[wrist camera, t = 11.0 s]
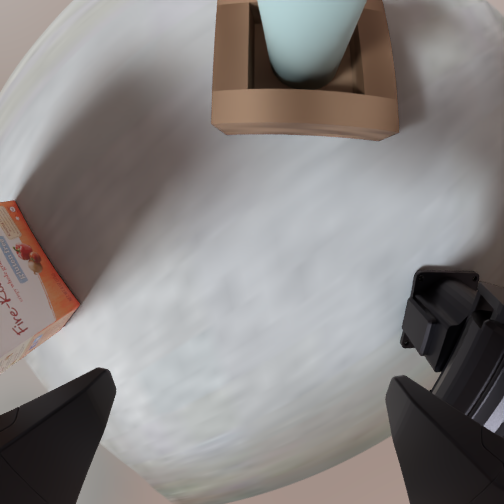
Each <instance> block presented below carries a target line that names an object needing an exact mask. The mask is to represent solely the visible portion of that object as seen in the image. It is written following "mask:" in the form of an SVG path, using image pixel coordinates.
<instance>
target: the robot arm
mask: <svg viewBox="0 0 504 504" xmlns="http://www.w3.org/2000/svg"><path fill="white" fill-rule="evenodd" d="M421 275H422V279H421V280H419V277H420V276H421ZM474 276H475V277H474ZM473 277H474V279H473ZM478 281H479V275H478V273H476V272H474V271H425V270H420V271H417V272H416V273H415V275H414V279H413V285H412V291H411V296H410V298H409V299H408V301H407V306H406V311H405V316H404V320H403V325H402V329H403V332H402V336H401V340H400V344H401V345H402V347H403V348H416V350H417V351H418V353H419V354H420V355H421V356H425V357H426V359H427V360H428V362H429V363H430V365H431V366H432V368H433V370H434V371H435V372H441V374H440V376H439V378H438V380H437V381H436V383H435V385H434V387H433V388H432V390H430V391H428V390H427V389H425V388H424V387H422V386H420V385H419V384H417V383H416V382H414V381H413V380H411V379H410V378H408V377H407V376H405V375H401V376H395V377H393V378H392V379H391V382H390V385H389V388H388V391H387V393H386V399H385V400H386V406H387V411H388V417H389V422H390V428H391V433H392V438H393V443H394V446H395V450H396V453H397V456H398V460H399V463H400V467H401V471H402V474H403V478H404V482H405V485H406V489H407V493H408V497H409V501H410V504H504V287H501V286H497V285H493V284H489V283H485V282H481V281H479V284H478ZM477 286H478V287H477ZM476 290H477V292H476ZM407 340H408V342H407V343H405V342H406V341H407ZM115 395H116V386H115V384H114V381H113V378H112V375H111V373H110V371H109V370H108V369H105V368H96V369H94V370H92V371H90V372H88V373H86V374H84V375H82V376H80V377H78V378H76V379H74V380H72V381H70V382H68V383H66V384H64V385H62V386H60V387H58V388H56V389H54V390H52V391H50V392H48V393H46V394H44V395H42V396H40V397H38V398H36V399H34V400H32V401H30V402H28V403H26V404H23V405H21V406H20V407H17V408H15V409H13V410H11V411H9V412H6V413H4V414H2V415H0V504H76V502H77V499H78V496H79V493H80V491H81V488H82V485H83V482H84V480H85V477H86V475H87V472H88V469H89V467H90V465H91V462H92V460H93V457H94V454H95V452H96V449H97V447H98V445H99V442H100V440H101V438H102V435H103V433H104V430H105V427H106V424H107V421H108V418H109V414H110V411H111V408H112V405H113V401H114V398H115Z"/></svg>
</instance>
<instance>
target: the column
mask: <svg viewBox="0 0 504 504" xmlns="http://www.w3.org/2000/svg"><path fill="white" fill-rule="evenodd" d="M257 1H258V6H259V11H260V15H261V20H262V25H263V30H264V34H265V39H266V45H267V50H268V55H269V60H270V65H271V69H272V71H273V73H274V75H275V76H276V77H277V78H278V79H279V80H280V81H281V82H282V83H284V84H285V85H287V86H289V87H291V88H294V89H304V90H315V89H319V88H321V87H323V86H325V85H327V84H328V83H329V82H330V81H331V80H332V79H333V78H334V76H335V74H336V72H337V69H338V67H339V65H340V62H341V60H342V58H343V55H344V53H345V51H346V48H347V46H348V44H349V41H350V39H351V37H352V34H353V32H354V30H355V27H356V25H357V22H358V20H359V18H360V15H361V13H362V11H363V8H364V6H365V4H366V1H367V0H257Z"/></svg>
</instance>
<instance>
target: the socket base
mask: <svg viewBox="0 0 504 504" xmlns="http://www.w3.org/2000/svg"><path fill="white" fill-rule="evenodd" d="M211 124H212V125H213V126H215V127H216V128H218V129H219V130H220V131H222V132H223V133H224V134H226V135H237V134H287V135H313V136H330V137H343V138H354V139H364V140H373V141H380V140H383V139H385V138H387V137H390V136H392V135H394V134H397V133H399V117H398V101H397V89H396V79H395V70H394V62H393V55H392V48H391V42H390V36H389V30H388V25H387V20H386V15H385V10H384V6H383V2H382V0H367V1H366V4H365V6H364V8H363V11H362V13H361V15H360V18H359V20H358V22H357V25H356V27H355V30H354V32H353V34H352V37H351V39H350V41H349V44H348V46H347V48H346V51H345V53H344V55H343V58H342V60H341V62H340V65H339V67H338V69H337V72H336V74H335V76H334V78H333V79H332V80H331V81H330V82H329V83H328V84H327V85H325V86H323V87H321V88H319V89H315V90H304V89H294V88H291V87H289V86H287V85H285V84H284V83H282V82H281V81H280V80H279V79H278V78H277V77H276V76H275V75H274V73H273V71H272V69H271V65H270V60H269V55H268V50H267V45H266V39H265V34H264V30H263V25H262V20H261V15H260V11H259V6H258V1H257V0H218V1H217V14H216V28H215V43H214V62H213V84H212V113H211Z"/></svg>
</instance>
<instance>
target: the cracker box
mask: <svg viewBox="0 0 504 504" xmlns="http://www.w3.org/2000/svg"><path fill="white" fill-rule="evenodd" d="M79 306H80V303H79V302H78V301H77V299H76V298H75V297H74V296H73V294H72V293H71V291H70V290H69V289H68V287H67V286H66V285H65V283H64V282H63V280H62V279H61V277H60V276H59V275H58V273H57V272H56V270H55V269H54V267H53V266H52V264H51V263H50V261H49V259H48V258H47V256H46V255H45V253H44V252H43V250H42V248H41V247H40V245H39V243H38V242H37V240H36V239H35V237H34V235H33V233H32V232H31V230H30V228H29V226H28V225H27V223H26V221H25V219H24V217H23V216H22V214H21V212H20V210H19V208H18V206H17V204H16V202H15V201H7V202H0V374H1V373H3V372H4V371H5V370H6V369H8V368H9V367H11V366H12V365H13V364H15V363H16V362H17V361H19V360H20V359H21V358H23V357H24V356H25V355H27V354H28V353H29V352H31V351H32V350H34V349H35V348H36V347H38V346H39V345H40V344H42V343H43V342H44V341H46V340H47V339H49V338H50V337H51V336H53V335H54V334H56V333H57V332H58V331H60V330H61V329H62V327H63V326H64V325H65V323H66V322H67V321H68V319H69V318H70V317H71V315H72V314H73V313H74V312H75V310H76V309H77V308H78V307H79Z"/></svg>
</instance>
